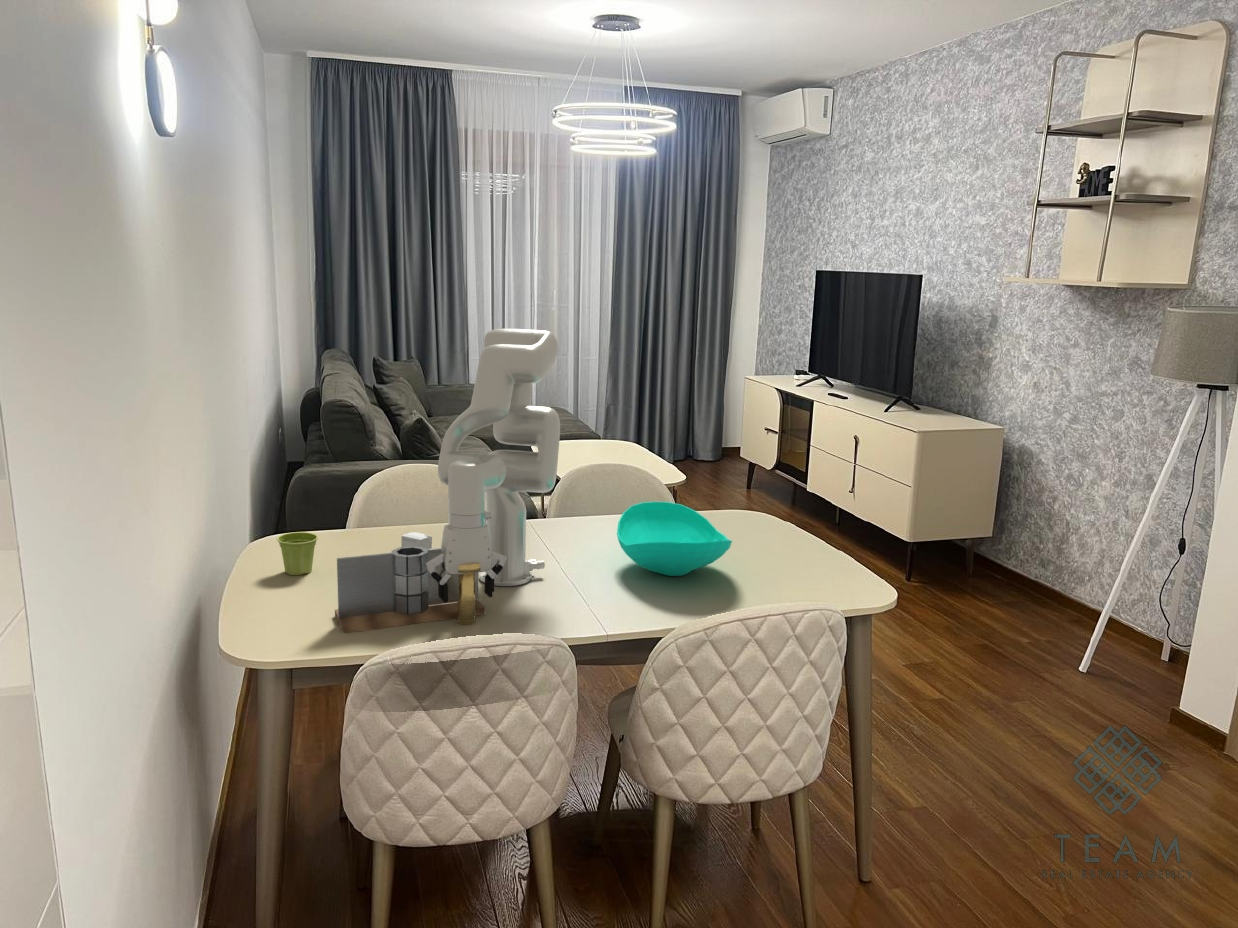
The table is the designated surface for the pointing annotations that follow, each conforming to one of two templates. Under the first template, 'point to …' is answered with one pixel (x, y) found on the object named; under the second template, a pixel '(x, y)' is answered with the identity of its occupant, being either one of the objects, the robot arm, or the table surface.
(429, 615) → the base board
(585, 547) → the table surface
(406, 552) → the hinge frame
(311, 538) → the plant pot
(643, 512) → the table top decor
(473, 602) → the hinge pin
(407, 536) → the skincare box
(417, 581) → the swing leaf
